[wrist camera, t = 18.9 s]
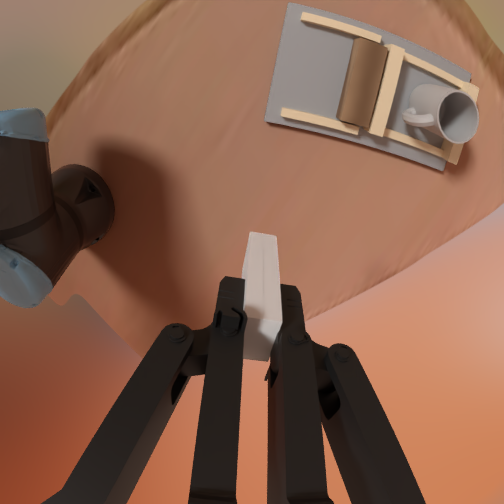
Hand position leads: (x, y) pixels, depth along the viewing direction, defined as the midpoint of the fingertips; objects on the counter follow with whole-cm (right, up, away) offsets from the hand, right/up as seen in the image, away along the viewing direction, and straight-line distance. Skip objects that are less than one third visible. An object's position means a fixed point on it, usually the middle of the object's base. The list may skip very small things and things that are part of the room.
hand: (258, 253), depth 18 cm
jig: (+18, +24, +19) cm, 35 cm away
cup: (+24, +22, +19) cm, 38 cm away
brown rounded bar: (+14, +24, +18) cm, 33 cm away
